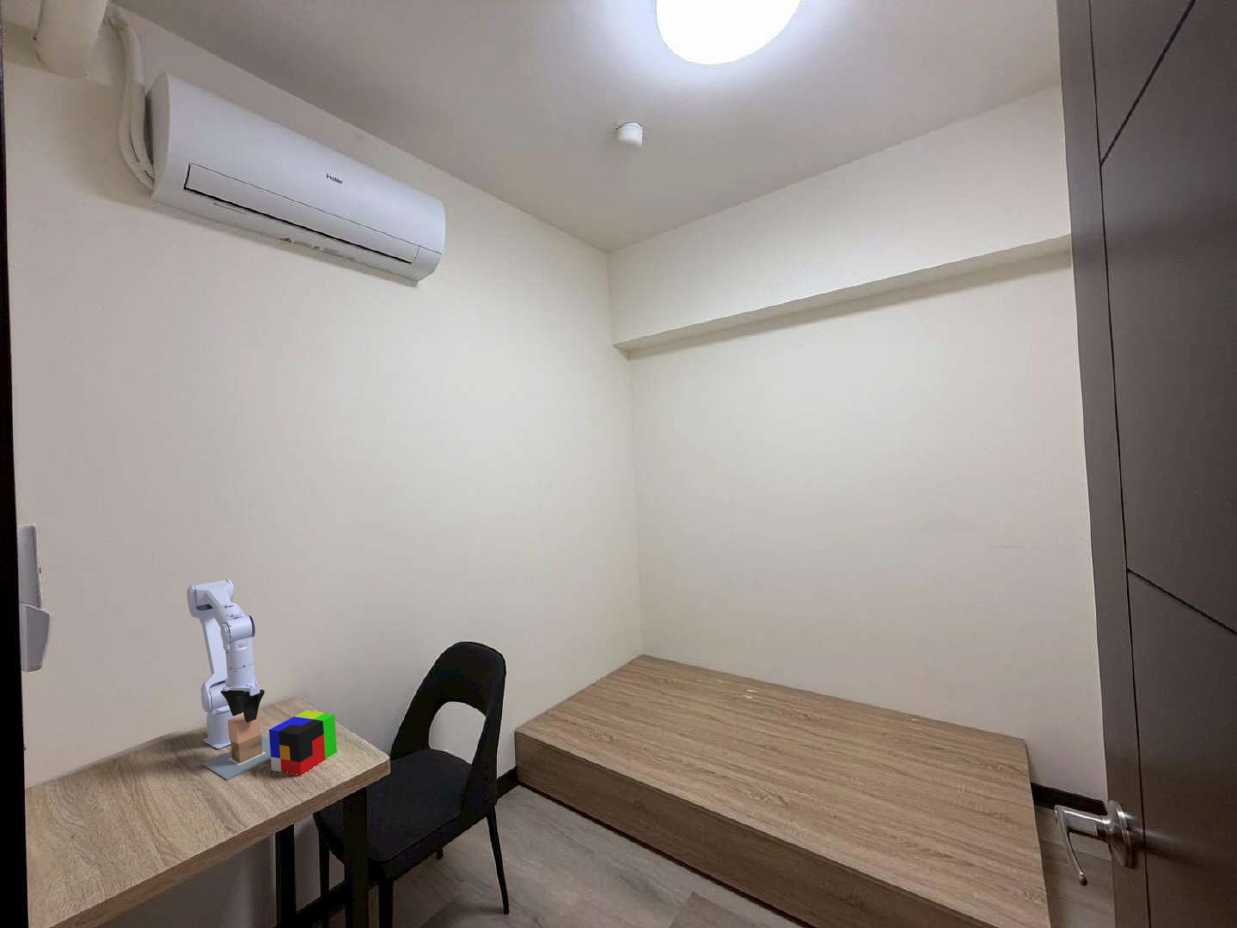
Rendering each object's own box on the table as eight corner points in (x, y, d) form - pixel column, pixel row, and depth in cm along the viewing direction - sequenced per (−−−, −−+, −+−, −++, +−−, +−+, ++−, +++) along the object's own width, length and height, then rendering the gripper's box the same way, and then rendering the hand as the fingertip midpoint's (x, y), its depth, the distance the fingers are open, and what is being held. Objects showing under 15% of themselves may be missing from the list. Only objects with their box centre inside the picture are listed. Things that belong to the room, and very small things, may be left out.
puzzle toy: (271, 770, 127) (268, 729, 127) (308, 747, 136) (306, 710, 136) (301, 776, 123) (298, 734, 123) (337, 753, 133) (334, 714, 133)
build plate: (202, 765, 131) (202, 763, 131) (264, 738, 143) (264, 736, 143) (227, 780, 123) (227, 778, 123) (290, 750, 135) (289, 748, 135)
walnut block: (231, 758, 132) (230, 738, 132) (253, 748, 136) (252, 729, 136) (240, 763, 130) (238, 743, 130) (262, 753, 134) (261, 734, 134)
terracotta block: (228, 739, 132) (227, 719, 132) (251, 730, 136) (249, 711, 136) (237, 744, 129) (236, 724, 129) (260, 734, 134) (258, 715, 134)
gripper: (210, 666, 133) (213, 718, 133) (235, 675, 126) (239, 731, 126) (241, 656, 139) (245, 706, 139) (267, 664, 132) (271, 717, 132)
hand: (244, 717), depth 133 cm, fingers open, 7 cm apart
